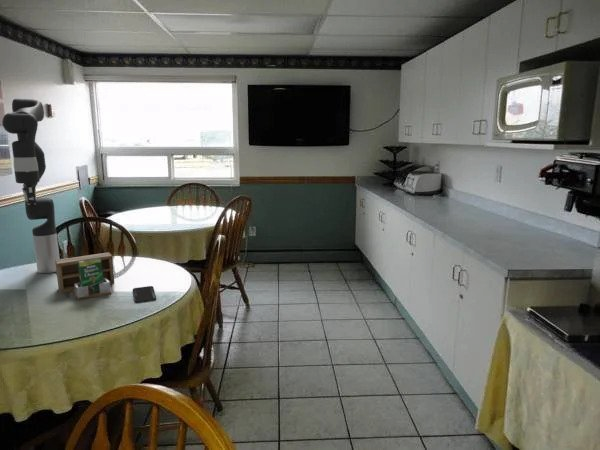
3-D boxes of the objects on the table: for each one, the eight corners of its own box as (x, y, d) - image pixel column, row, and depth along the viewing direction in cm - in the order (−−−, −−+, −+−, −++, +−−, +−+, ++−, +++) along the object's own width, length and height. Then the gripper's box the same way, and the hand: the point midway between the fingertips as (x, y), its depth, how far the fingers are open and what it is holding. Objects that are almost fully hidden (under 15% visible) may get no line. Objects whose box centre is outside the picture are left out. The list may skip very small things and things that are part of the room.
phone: (152, 285, 176) (156, 298, 163) (153, 288, 176) (156, 301, 163) (132, 288, 173) (134, 301, 160) (132, 291, 173) (134, 304, 160)
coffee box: (82, 295, 165) (78, 262, 162) (80, 293, 167) (77, 261, 164) (104, 291, 170) (101, 259, 167) (102, 289, 172) (99, 257, 169)
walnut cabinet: (58, 288, 175) (55, 260, 172) (111, 279, 186) (108, 252, 184) (65, 302, 160) (62, 271, 157) (122, 291, 171) (119, 262, 169)
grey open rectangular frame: (74, 293, 167) (73, 283, 167) (106, 287, 174) (106, 277, 173) (77, 298, 162) (76, 288, 162) (110, 291, 169) (109, 282, 168)
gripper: (13, 168, 162) (18, 211, 166) (15, 171, 151) (21, 217, 154) (36, 168, 167) (41, 209, 170) (40, 170, 155) (45, 214, 159)
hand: (31, 213), depth 162 cm, fingers open, 8 cm apart
